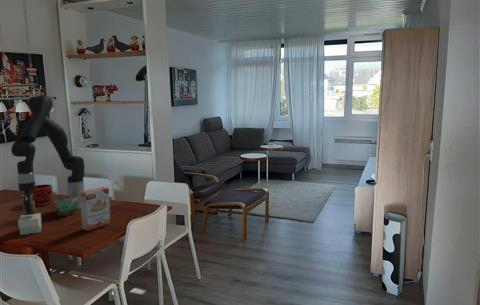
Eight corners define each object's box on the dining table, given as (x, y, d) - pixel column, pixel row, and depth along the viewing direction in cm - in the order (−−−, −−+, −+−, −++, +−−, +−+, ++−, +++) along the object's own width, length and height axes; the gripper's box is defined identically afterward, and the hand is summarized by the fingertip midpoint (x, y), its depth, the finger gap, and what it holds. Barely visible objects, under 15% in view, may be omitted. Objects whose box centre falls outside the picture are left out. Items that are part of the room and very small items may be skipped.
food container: (55, 218, 210) (54, 201, 208) (55, 215, 215) (54, 199, 213) (78, 215, 215) (77, 199, 214) (77, 212, 221) (76, 196, 219)
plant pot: (57, 202, 239) (56, 185, 238) (37, 208, 228) (35, 189, 227) (46, 199, 246) (45, 182, 244) (26, 204, 235) (25, 186, 233)
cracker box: (88, 231, 190) (85, 193, 186) (81, 229, 193) (79, 191, 190) (111, 224, 201) (109, 187, 198) (104, 221, 205) (102, 186, 201)
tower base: (41, 227, 197) (40, 220, 196) (40, 232, 189) (39, 225, 188) (22, 229, 193) (21, 222, 192) (20, 235, 185) (19, 228, 184)
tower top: (41, 220, 196) (40, 213, 195) (38, 225, 188) (37, 218, 187) (22, 222, 193) (21, 215, 192) (18, 228, 184) (17, 220, 184)
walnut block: (35, 211, 193) (34, 200, 192) (34, 214, 188) (33, 203, 187) (24, 212, 191) (23, 201, 190) (23, 215, 186) (22, 204, 185)
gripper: (33, 183, 182) (36, 215, 185) (35, 177, 195) (38, 207, 197) (16, 184, 179) (19, 217, 181) (19, 178, 191) (22, 209, 194)
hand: (29, 212), depth 189 cm, fingers closed on walnut block, 5 cm apart
